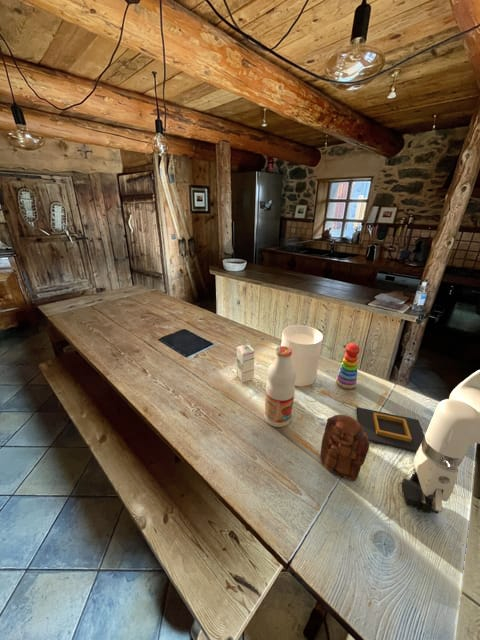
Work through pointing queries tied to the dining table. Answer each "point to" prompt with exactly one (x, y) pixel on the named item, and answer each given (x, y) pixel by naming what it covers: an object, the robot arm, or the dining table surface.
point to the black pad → (413, 492)
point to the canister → (303, 351)
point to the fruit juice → (280, 389)
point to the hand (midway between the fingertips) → (419, 497)
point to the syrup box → (245, 362)
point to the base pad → (391, 429)
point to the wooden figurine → (344, 446)
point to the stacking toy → (349, 367)
